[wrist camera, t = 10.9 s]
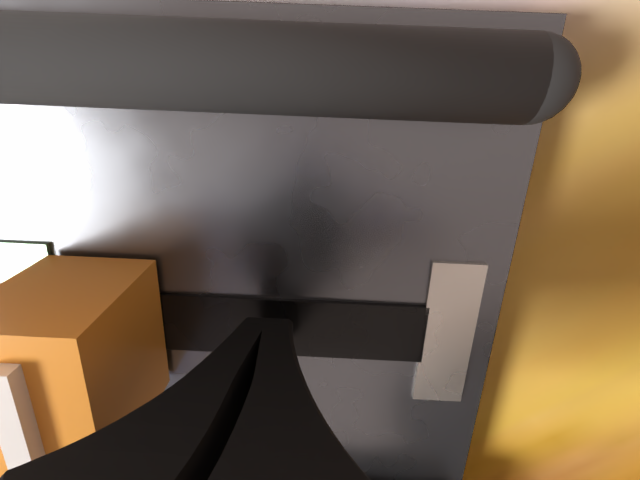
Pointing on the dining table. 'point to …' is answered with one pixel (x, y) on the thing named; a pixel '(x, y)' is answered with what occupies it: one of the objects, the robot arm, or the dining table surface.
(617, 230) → the dining table surface
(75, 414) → the toggle
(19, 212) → the panel
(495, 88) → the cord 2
